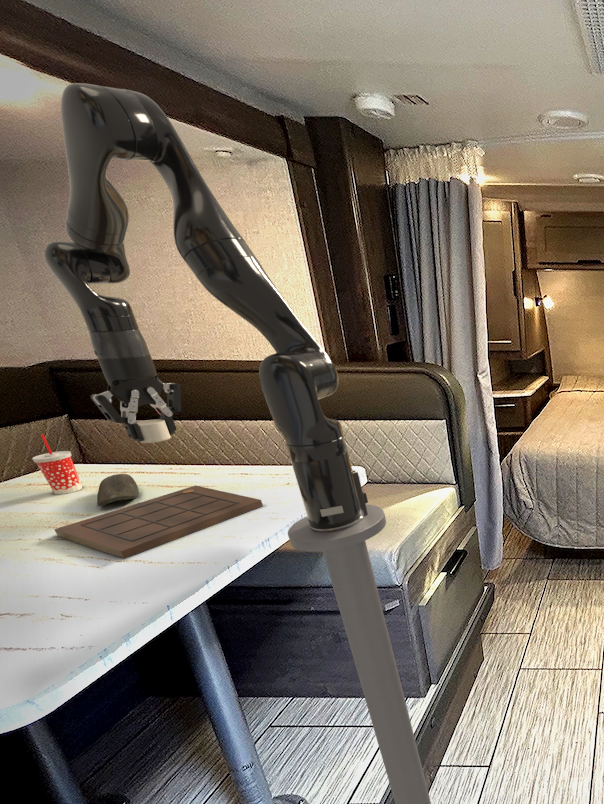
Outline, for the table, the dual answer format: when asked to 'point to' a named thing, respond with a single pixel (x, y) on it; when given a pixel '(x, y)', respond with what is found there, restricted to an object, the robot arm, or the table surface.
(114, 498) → the decorative stone
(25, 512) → the table surface
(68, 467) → the beverage cup
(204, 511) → the game board
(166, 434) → the game stone
